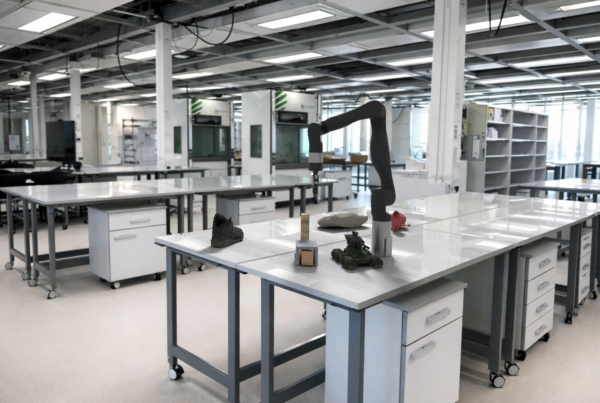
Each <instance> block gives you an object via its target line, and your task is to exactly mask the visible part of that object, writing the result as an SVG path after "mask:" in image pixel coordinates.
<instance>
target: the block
mask: <svg viewBox="0 0 600 403" xmlns="http://www.w3.org/2000/svg"><path fill="white" fill-rule="evenodd" d="M301 262H302V263H313V264H314V260H313V249H301V258H300V263H301Z"/></svg>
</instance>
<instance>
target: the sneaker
mask: <svg viewBox="0 0 600 403" xmlns="http://www.w3.org/2000/svg"><path fill="white" fill-rule="evenodd" d="M244 238H245V232H244V231H243V229H242V228H240V227H239V226H234V222H233V221H232V216H230V217H229V218H228V217H226V215H225V214H222V213H219V212H217V213H215V214H214V216H213V220H212V227H211V239H210V246H211V247H213V248H226V247H228V245H229V246H231V245H234V244H237V243H240V242H241V241H243V240H244ZM233 243H234V244H233ZM230 244H231V245H230Z"/></svg>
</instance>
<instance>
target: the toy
mask: <svg viewBox="0 0 600 403" xmlns="http://www.w3.org/2000/svg"><path fill="white" fill-rule="evenodd" d="M390 214H391V216H392V221H391V228H392V230H391V233H394V232H395V230H396V233H399V229H400V228H402V227H404V226H405V227H411V224H410V223H409V224H406V223H407V216H406V215H405V214H403V213H402V212H399V210H394V211H393V212H392V213H390Z"/></svg>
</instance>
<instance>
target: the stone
mask: <svg viewBox="0 0 600 403" xmlns="http://www.w3.org/2000/svg"><path fill="white" fill-rule="evenodd" d="M368 221H369V217H368V215H364V214H363V215H359V214H357V213H352V212H346V213H334V214H332V215H328V216H323V217H320V218H319V219H318V220H317V225H318V226H320V227H322V228H329V227H332V228H333V227H335V228H338V227H340V228H345V229H346V228H347V229H353V228H359V227H360V226H362V225H364V224H365V223H367V222H368Z"/></svg>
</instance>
